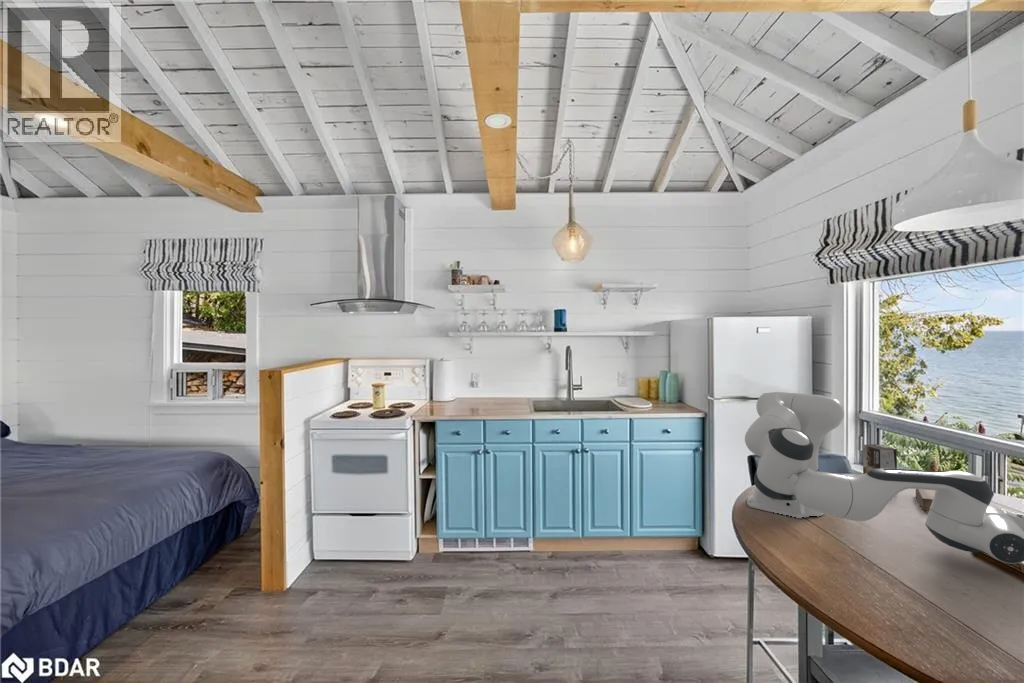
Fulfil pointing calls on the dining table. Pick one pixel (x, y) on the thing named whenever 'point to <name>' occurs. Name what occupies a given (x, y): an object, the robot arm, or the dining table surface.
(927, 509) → the stand
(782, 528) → the dining table surface
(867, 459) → the coffee box
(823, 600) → the dining table surface
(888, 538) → the dining table surface
